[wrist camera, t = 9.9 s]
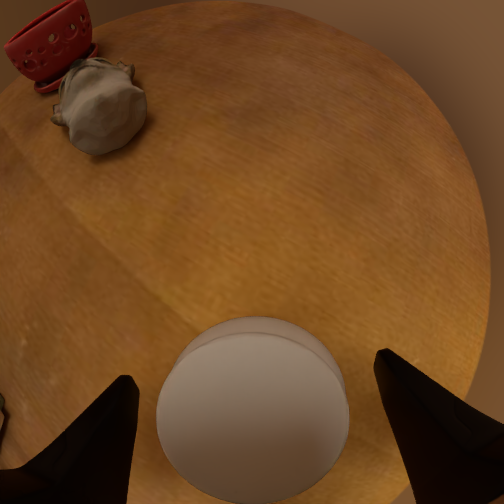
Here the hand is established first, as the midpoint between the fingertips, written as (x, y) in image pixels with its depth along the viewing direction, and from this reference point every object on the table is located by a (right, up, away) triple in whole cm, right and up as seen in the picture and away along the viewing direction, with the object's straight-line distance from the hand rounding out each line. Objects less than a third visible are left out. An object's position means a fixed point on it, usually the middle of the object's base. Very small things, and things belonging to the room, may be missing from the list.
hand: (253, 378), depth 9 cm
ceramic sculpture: (-15, +18, +15) cm, 28 cm away
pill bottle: (0, -3, +7) cm, 8 cm away
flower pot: (-28, +32, +21) cm, 48 cm away
